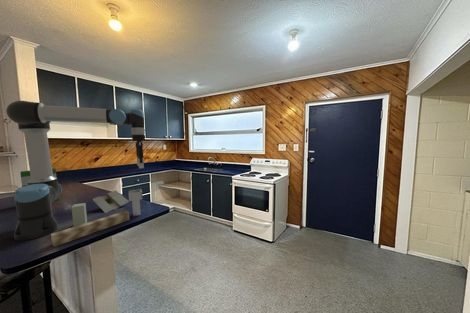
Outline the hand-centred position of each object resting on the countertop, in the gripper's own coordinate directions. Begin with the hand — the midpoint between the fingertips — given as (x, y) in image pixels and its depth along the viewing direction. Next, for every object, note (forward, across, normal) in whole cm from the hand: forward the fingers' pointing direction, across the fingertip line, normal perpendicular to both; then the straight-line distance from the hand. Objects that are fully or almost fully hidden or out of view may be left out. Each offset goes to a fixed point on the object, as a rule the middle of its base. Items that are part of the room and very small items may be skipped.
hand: (140, 167), depth 127 cm
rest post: (+27, -11, +31) cm, 43 cm away
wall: (+28, +11, +18) cm, 35 cm away
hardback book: (+28, +52, +62) cm, 86 cm away
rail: (+28, -24, +24) cm, 43 cm away
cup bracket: (+27, -12, +4) cm, 30 cm away
